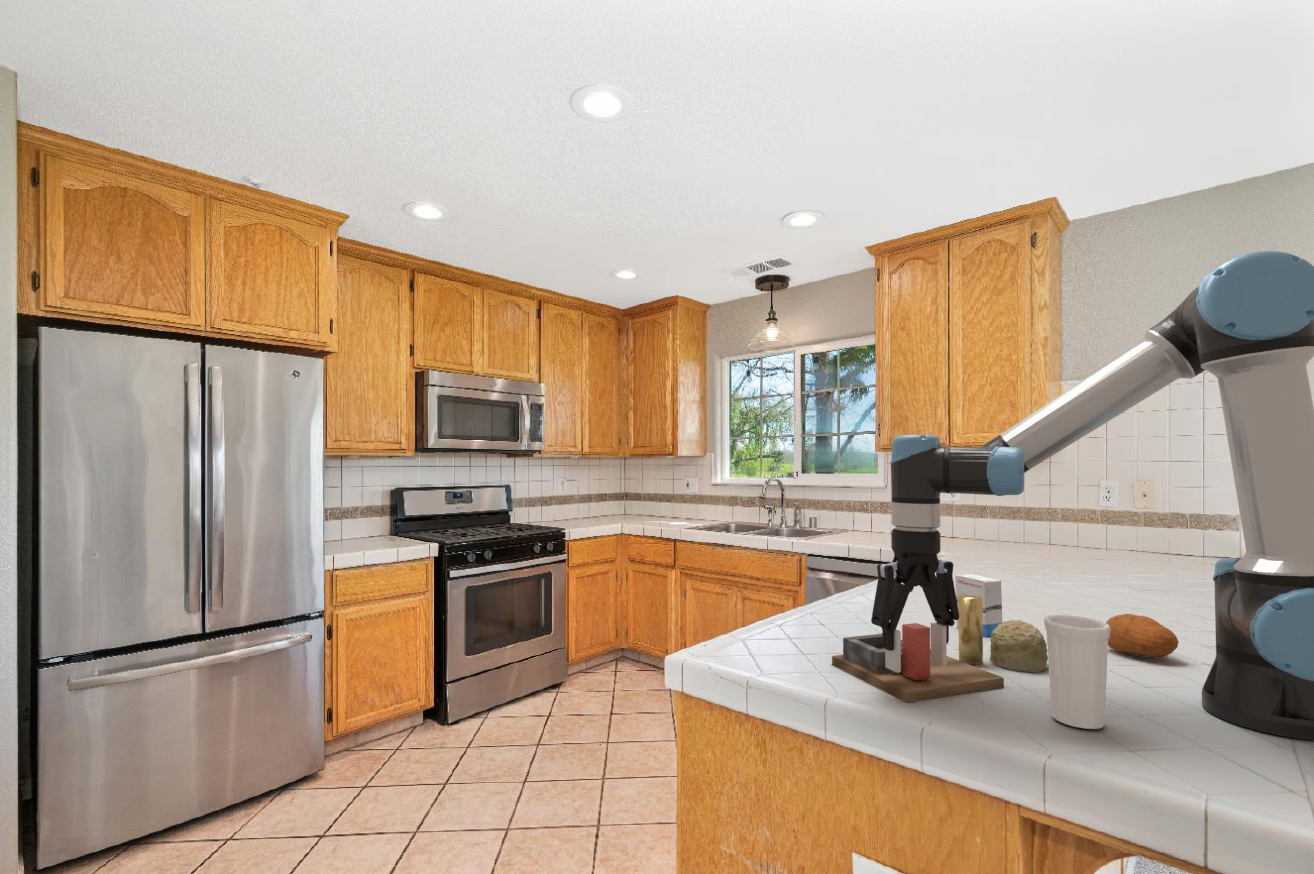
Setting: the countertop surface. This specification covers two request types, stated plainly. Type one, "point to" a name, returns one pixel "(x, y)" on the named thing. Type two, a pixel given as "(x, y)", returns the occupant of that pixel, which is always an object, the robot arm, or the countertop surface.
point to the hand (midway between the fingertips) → (916, 666)
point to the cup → (1077, 669)
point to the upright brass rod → (970, 629)
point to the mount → (869, 665)
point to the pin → (915, 651)
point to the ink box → (983, 598)
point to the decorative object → (1018, 647)
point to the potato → (1140, 636)
